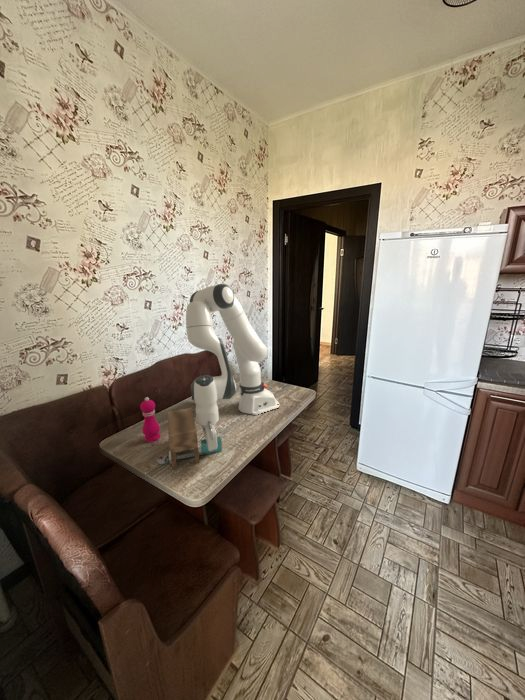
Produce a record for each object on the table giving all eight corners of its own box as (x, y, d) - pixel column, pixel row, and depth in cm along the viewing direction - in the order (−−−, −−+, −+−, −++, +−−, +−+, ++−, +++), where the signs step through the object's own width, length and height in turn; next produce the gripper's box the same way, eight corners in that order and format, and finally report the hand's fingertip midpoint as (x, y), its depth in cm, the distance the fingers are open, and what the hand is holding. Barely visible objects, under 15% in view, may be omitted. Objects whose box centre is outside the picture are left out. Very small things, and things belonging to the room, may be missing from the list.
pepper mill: (150, 444, 120) (144, 402, 115) (140, 440, 124) (133, 398, 119) (164, 436, 126) (159, 395, 121) (154, 432, 130) (148, 392, 124)
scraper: (219, 445, 119) (219, 434, 117) (222, 453, 113) (222, 442, 112) (169, 454, 112) (168, 443, 111) (169, 463, 107) (168, 452, 105)
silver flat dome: (169, 457, 112) (169, 454, 112) (169, 464, 108) (169, 461, 107) (158, 459, 111) (157, 456, 110) (157, 466, 107) (156, 463, 106)
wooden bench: (194, 435, 126) (191, 407, 122) (199, 463, 107) (196, 430, 104) (171, 440, 123) (167, 411, 119) (172, 469, 104) (168, 436, 101)
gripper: (220, 427, 102) (222, 460, 105) (211, 404, 120) (213, 432, 124) (202, 431, 100) (205, 464, 103) (196, 406, 119) (199, 435, 122)
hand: (210, 446), depth 114 cm, fingers closed on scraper, 3 cm apart
